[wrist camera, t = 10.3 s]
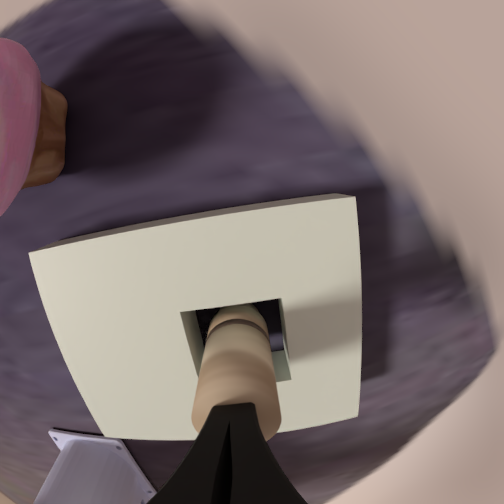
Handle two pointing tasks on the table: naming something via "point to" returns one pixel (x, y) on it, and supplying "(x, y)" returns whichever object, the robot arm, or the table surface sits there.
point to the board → (203, 297)
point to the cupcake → (27, 125)
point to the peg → (238, 368)
